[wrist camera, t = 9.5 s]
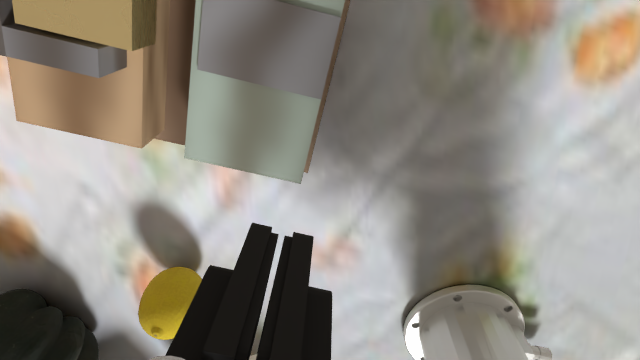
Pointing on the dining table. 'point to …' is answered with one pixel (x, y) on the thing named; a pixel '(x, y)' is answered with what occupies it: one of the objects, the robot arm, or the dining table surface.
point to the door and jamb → (190, 81)
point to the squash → (41, 330)
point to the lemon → (167, 301)
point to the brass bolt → (93, 20)
